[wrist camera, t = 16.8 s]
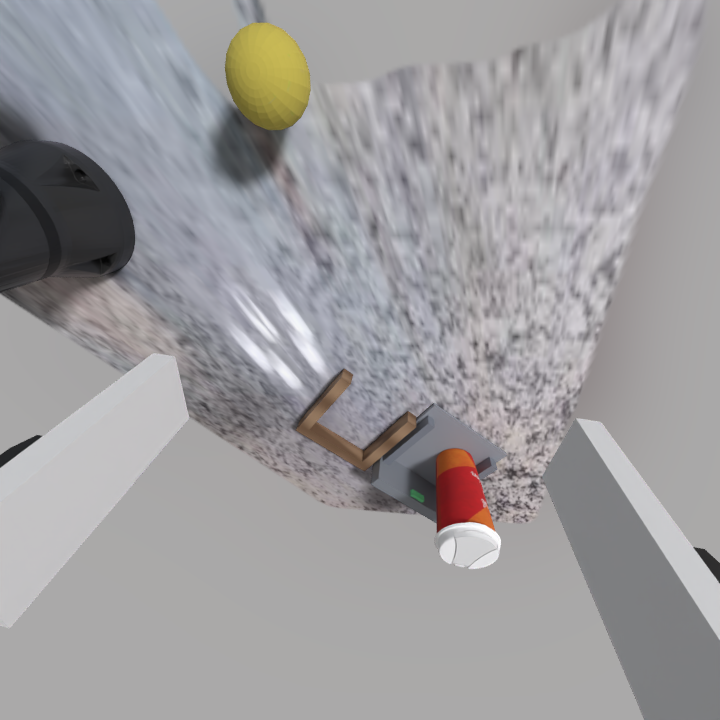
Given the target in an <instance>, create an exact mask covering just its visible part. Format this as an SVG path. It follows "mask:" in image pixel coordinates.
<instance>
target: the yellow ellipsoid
mask: <svg viewBox="0 0 720 720" xmlns="http://www.w3.org/2000/svg"><path fill="white" fill-rule="evenodd" d="M225 72H226V79H227V85H228V88H229V91H230V93H231V96H232V98H233V101H234V102H235V104H236V105H237V107H238V108H239V110H240V111H241V112H242V114H243V115H244V116H245V117H246V118H248V119H249V120H250V121H251V122H252V123H254V124H255V125H257V126H260V127H262V128H265V129H267V130H283V129H285V128H288V127H290V126H293V125H294V124H295V123H296V122H297V121H298V120H299V119H300V118H301V117H302V115H303V113H304V111H305V109H306V107H307V105H308V100H309V95H310V90H311V89H310V73H309V69H308V66H307V62H306V59H305V57H304V55H303V53H302V51H301V50H300V48H299V46H298V45H297V43H296V41H295V40H294V39H293V38H291V37H290V36H289V35H288V34H287V33H286V32H285V31H284V30H282V29H281V28H279V27H276V26H274V25H272V24H269V23H252V24H250V25H248V26H246V27H244V28H242V29H240V30H239V32H238V33H237V34H236V35H235V37H234V38H233V39H232V41H231V43H230V45H229V48H228V51H227V53H226V64H225Z"/></svg>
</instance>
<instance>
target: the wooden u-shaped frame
mask: <svg viewBox="0 0 720 720" xmlns="http://www.w3.org/2000/svg"><path fill="white" fill-rule="evenodd" d="M352 377H353V374H352V373H350V372H349V371H347V370H346V369H343V371H342V372H341V373H340V374H339V375H338V376H337V378H336V379H335V380H334V381H333V382H332V383H331V385H330V386H329V387H328V388H327V389H326V390H325V392H324V393H323V394H322V395H321V396H320V397H319V399H318V400H317V401H316V402H315V403H314V404H313V406H312V407H311V408H310V409H309V410H308V411H307V413H306V414H305V415H304V416H303V417H302V419H301V420H300V421H299V424H298V426H297V428H296V431H298V432H299V433H301V434H303V435H304V436H306V437H308V438H309V439H311V440H313V441H314V442H316V443H318V444H319V445H321V446H323V447H324V448H326V449H328V450H329V451H331V452H333V453H334V454H336V455H338V456H339V457H341V458H343V459H344V460H346V461H348V462H349V463H351V464H353V465H354V466H356V467H358V468H359V469H361V470H363V471H366V470H367V469H368V468H369V467H370V466H371V465H373V464H374V463H375V462H376V461H377V460H378V459H380V458H381V457H382V456H383V455H384V454H385V453H387V452H388V451H389V450H390V449H391V448H392V447H394V446H395V445H396V444H397V443H398V442H400V441H401V440H402V439H403V438H404V437H405V436H407V435H408V434H409V433H410V432H411V431H412V430H414V429H415V428H416V416H414V415H413V414H411V413H410V412H407V413H405V414H404V415H403V416H402V417H401V418H400V419H399V420H398V421H397V422H396V423H394V424H393V425H392V426H391V427H390V428H389V429H388V430H387V431H386V432H384V433H383V434H382V435H381V436H380V437H379V438H378V439H377V440H376V441H375V442H373V443H372V444H371V445H370V446H369V447H368V448H367V449H366V450H365V451H363V450H361V449H360V448H358V447H357V446H355V445H353V444H352V443H350V442H348V441H347V440H345V439H344V438H342V437H340V436H339V435H337V434H335V433H334V432H332V431H330V430H329V429H327V428H326V427H324V426H322V425H321V424H319V423H317V421H318V420H319V418H320V417H321V416H322V415H323V414H324V413H325V412H326V411H327V410H328V408H329V407H330V406H331V405H332V404H333V403H334V402H335V401H336V400H337V398H338V397H339V396H340V395H341V394H342V393H343V392H344V391H345V390H346V388H347V387H348V386H349V385H350V384H351V380H352Z"/></svg>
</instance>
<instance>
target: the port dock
mask: <svg viewBox="0 0 720 720" xmlns="http://www.w3.org/2000/svg"><path fill="white" fill-rule="evenodd" d="M451 448H459V449H463V450H465V451H467V452H469V453H470V454H471V456H472V458H473V460H474V463H475V466H476V469H477V472H478V476H479V479H480V480H482V479H483V478H485V477H486V476H488V475H489V474H491V473H492V472H494V471H495V470H497V466H496V462H498V461H499V460H501V459H502V458H504V457H505V456H507V454H506V452H504V451H503V450H501V449H500V448H499V447H497V446H496V445H494V444H493V443H491V442H490V441H488V440H487V439H486V438H484V437H483V436H481V435H480V434H478V433H477V432H475V431H474V430H472V429H471V428H470V427H468V426H467V425H465V424H464V423H462V422H461V421H459V420H458V419H457V418H455V417H454V416H452V415H451V414H449V413H448V412H446V411H445V410H443V409H442V408H441V407H439V406H438V405H436V404H435V403H434V404H433V405H432V406H430V407H429V408H428V409H427V410H426V411H425V412H424V413H422V414H421V415H420V416H419V417H418V418H417V419H416V428H415V429H414V430H412V431H411V432H410V433H409V434H408V435H407V436H405V437H404V438H403V439H402V440H401V441H400V442H398V443H397V444H396V445H395V446H394V447H392V448H391V449H390V450H389V451H388V452H387V453H385V454H384V455H383V456H382V457H381V458H380V459H378V460H377V461H376V462H375V463H374V464H373V471H372V479H371V485H372V486H374V487H376V488H378V489H379V490H381V491H383V492H384V493H386V494H388V495H389V496H391V497H393V498H394V499H396V500H398V501H400V502H401V503H403V504H405V505H406V506H408V507H410V508H411V509H413V510H415V511H416V512H418V513H420V514H422V515H423V516H425V517H427V518H428V519H430V520H432V521H434V522H435V523H437V516H436V458H437V456H438V455H439V454H440V453H441V452H442V451H444V450H447V449H451Z"/></svg>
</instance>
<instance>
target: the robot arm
mask: <svg viewBox="0 0 720 720" xmlns="http://www.w3.org/2000/svg"><path fill="white" fill-rule="evenodd" d="M134 242H135V232H134V225H133V220H132V217H131V214H130V211H129V208H128V206H127V204H126V202H125V200H124V198H123V196H122V194H121V192H120V191H119V189H118V188H117V186H116V185H115V183H114V182H113V181H112V180H111V178H110V177H109V176H108V175H107V174H106V173H105V171H104V170H103V169H102V168H101V167H100V166H98V165H97V164H96V163H95V162H94V161H93V160H91V159H90V158H89V157H87V156H86V155H85V154H83V153H81V152H80V151H78V150H76V149H74V148H72V147H70V146H67V145H65V144H62V143H58V142H52V141H35V140H27V141H20V142H16V143H13V144H11V145H8V146H6V147H4V148H1V149H0V293H2V292H5V291H8V290H11V289H14V288H17V287H20V286H23V285H26V284H29V283H32V282H34V281H38V280H41V279H44V278H47V277H74V278H93V277H99V276H103V275H105V274H108V273H111V272H114V271H116V270H118V269H120V268H121V267H123V266H124V265H125V264H126V263H127V262H128V260H129V259H130V257H131V255H132V252H133V248H134ZM188 419H189V415H188V411H187V407H186V402H185V398H184V393H183V389H182V385H181V380H180V376H179V371H178V367H177V363H176V358H175V356H169V355H162V354H156V353H153V354H152V355H150V356H149V357H148V358H146V359H145V360H144V361H142V362H141V363H140V364H138V365H137V366H136V367H134V368H133V369H132V370H130V371H129V372H128V373H126V374H125V375H124V376H122V377H121V378H120V379H118V380H117V381H116V382H114V383H113V384H112V385H110V386H109V387H108V388H106V389H105V390H104V391H102V392H101V393H100V394H98V395H97V396H96V397H94V398H93V399H92V400H90V401H89V402H88V403H86V404H85V405H84V406H82V407H81V408H80V409H78V410H77V411H76V412H74V413H73V414H72V415H70V416H69V417H68V418H66V419H65V420H64V421H62V422H61V423H60V424H58V425H57V426H56V427H54V428H53V429H52V430H50V431H49V432H48V433H46V434H45V435H44V436H40V435H36V436H34V437H32V438H30V439H28V440H26V441H24V442H22V443H20V444H18V445H16V446H14V447H11V448H10V449H8V450H7V451H5V452H4V453H3V454H1V455H0V626H2V627H7V628H10V627H11V626H12V625H13V624H14V623H15V621H16V620H17V619H18V618H19V617H20V616H21V615H22V613H23V612H24V611H25V610H26V609H27V608H28V606H29V605H30V604H31V603H32V602H33V601H34V599H35V598H36V597H37V596H38V595H39V594H40V592H41V591H42V590H43V589H44V588H45V586H46V585H47V584H48V583H49V582H50V581H51V580H52V578H53V577H54V576H55V575H56V574H57V573H58V571H59V570H60V569H61V568H62V567H63V566H64V564H65V563H66V562H67V561H68V560H69V559H70V557H71V556H72V555H73V554H74V553H75V551H76V550H77V549H78V548H79V547H80V546H81V544H82V543H83V542H84V541H85V540H86V539H87V537H88V536H89V535H90V534H91V533H92V532H93V530H94V529H95V528H96V527H97V526H98V524H99V523H100V522H101V521H102V520H103V519H104V518H105V516H106V515H107V514H108V513H109V512H110V510H111V509H112V508H113V507H114V506H115V505H116V504H117V502H118V501H119V500H120V499H121V498H122V497H123V495H124V494H125V493H126V492H127V491H128V490H129V488H130V487H131V486H132V485H133V483H134V482H135V481H136V480H137V479H138V478H139V477H140V475H141V474H142V473H143V472H144V471H145V469H146V468H147V467H148V466H149V465H150V464H151V462H152V461H153V460H154V459H155V458H156V456H158V454H159V453H160V452H161V451H162V450H163V449H164V447H165V446H166V445H167V444H168V443H169V442H170V440H171V439H172V438H173V437H174V436H175V435H176V433H177V432H178V431H179V430H180V429H181V428H182V426H183V425H184V424H185V423H186V422H187V420H188ZM542 478H543V480H544V483H545V485H546V487H547V490H548V492H549V494H550V497H551V499H552V502H553V504H554V506H555V509H556V511H557V513H558V516H559V518H560V520H561V523H562V525H563V528H564V530H565V532H566V535H567V537H568V540H569V542H570V544H571V547H572V549H573V551H574V554H575V556H576V558H577V561H578V563H579V566H580V568H581V570H582V573H583V575H584V577H585V580H586V582H587V585H588V587H589V589H590V592H591V594H592V597H593V599H594V601H595V604H596V606H597V608H598V611H599V613H600V615H601V618H602V620H603V623H604V625H605V627H606V630H607V632H608V635H609V637H610V639H611V642H612V644H613V646H614V649H615V651H616V653H617V656H618V658H619V661H620V663H621V665H622V668H623V670H624V673H625V675H626V677H627V680H628V682H629V684H630V687H631V689H632V692H633V694H634V696H635V699H636V701H637V703H638V706H639V708H640V710H641V713H642V715H643V718H644V720H720V563H719V562H718V561H717V560H716V559H715V558H713V556H711V555H710V554H709V553H708V552H707V551H706V550H705V549H700V548H695V547H692V546H691V544H690V542H689V541H688V540H687V538H685V536H684V534H683V533H682V532H681V530H680V529H679V528H678V526H677V525H676V523H675V522H674V521H673V519H672V518H671V517H670V515H669V514H668V513H667V511H666V510H665V509H664V507H663V506H662V504H661V503H660V502H659V500H658V499H657V498H656V496H655V495H654V494H653V492H652V491H651V489H650V488H649V487H648V485H647V484H646V483H645V481H644V480H643V479H642V477H641V476H640V475H639V473H638V472H637V470H636V469H635V468H634V466H633V465H632V464H631V462H630V461H629V460H628V458H627V457H626V455H625V454H624V453H623V451H622V450H621V449H620V447H619V446H618V445H617V444H616V442H615V441H614V439H613V438H612V437H611V435H610V434H609V432H608V431H607V430H606V428H605V427H604V426H603V424H602V423H601V422H596V421H590V420H584V419H577V418H576V419H575V420H574V422H573V424H572V426H571V427H570V429H569V431H568V433H567V434H566V436H565V438H564V439H563V441H562V443H561V445H560V446H559V448H558V450H557V452H556V453H555V455H554V457H553V459H552V460H551V462H550V464H549V466H548V467H547V469H546V471H545V472H544V474H543V476H542Z"/></svg>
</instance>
